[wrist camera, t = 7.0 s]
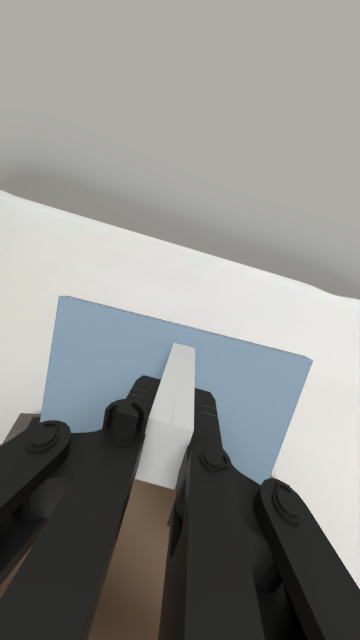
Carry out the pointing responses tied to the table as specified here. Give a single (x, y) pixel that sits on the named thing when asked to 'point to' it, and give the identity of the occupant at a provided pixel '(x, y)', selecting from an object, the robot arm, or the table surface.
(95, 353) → the panel
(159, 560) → the trailer bed
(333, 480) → the table surface
